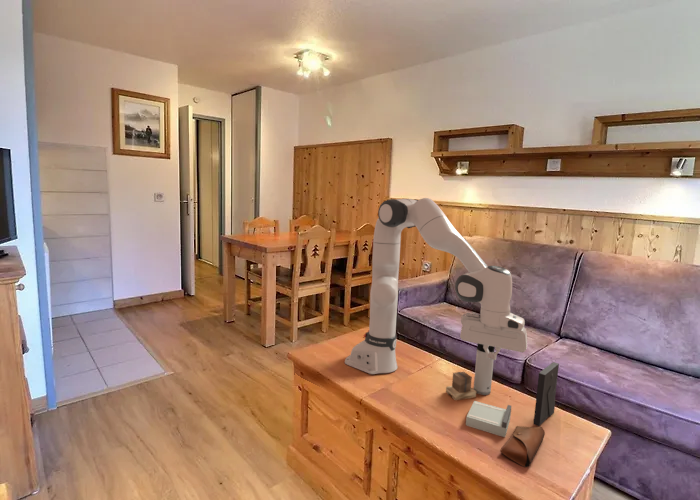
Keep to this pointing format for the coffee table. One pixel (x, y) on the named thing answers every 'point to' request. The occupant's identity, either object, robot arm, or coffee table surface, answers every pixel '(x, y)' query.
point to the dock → (489, 418)
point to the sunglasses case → (523, 444)
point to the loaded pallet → (461, 387)
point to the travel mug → (483, 371)
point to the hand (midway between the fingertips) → (491, 358)
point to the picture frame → (546, 393)
